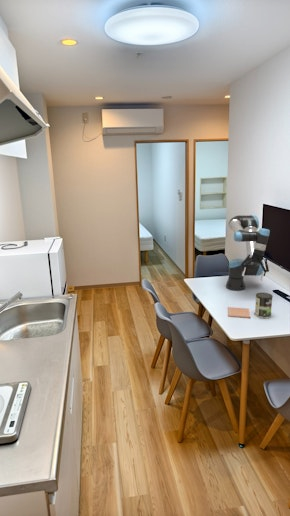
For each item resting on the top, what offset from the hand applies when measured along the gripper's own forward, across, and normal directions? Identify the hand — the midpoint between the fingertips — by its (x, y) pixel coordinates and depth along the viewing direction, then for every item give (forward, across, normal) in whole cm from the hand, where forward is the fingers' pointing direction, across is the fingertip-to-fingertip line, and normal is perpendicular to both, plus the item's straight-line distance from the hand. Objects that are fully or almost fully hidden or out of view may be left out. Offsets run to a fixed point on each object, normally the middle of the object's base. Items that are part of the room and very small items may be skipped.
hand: (251, 278), depth 249 cm
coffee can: (+21, +7, -23) cm, 32 cm away
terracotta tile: (+24, -8, -21) cm, 32 cm away
